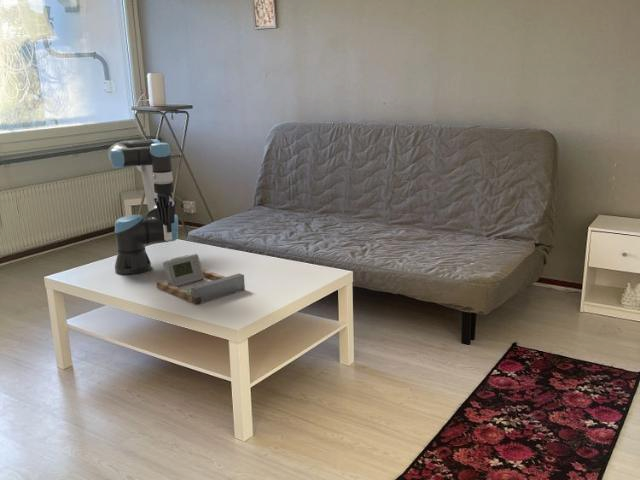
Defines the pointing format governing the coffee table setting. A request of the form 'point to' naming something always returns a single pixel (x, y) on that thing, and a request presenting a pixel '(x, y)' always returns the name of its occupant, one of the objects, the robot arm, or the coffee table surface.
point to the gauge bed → (187, 294)
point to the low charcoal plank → (218, 288)
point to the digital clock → (183, 270)
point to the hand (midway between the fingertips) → (168, 239)
